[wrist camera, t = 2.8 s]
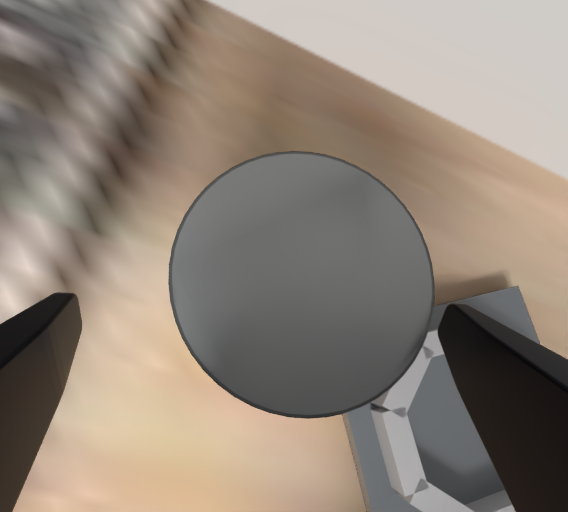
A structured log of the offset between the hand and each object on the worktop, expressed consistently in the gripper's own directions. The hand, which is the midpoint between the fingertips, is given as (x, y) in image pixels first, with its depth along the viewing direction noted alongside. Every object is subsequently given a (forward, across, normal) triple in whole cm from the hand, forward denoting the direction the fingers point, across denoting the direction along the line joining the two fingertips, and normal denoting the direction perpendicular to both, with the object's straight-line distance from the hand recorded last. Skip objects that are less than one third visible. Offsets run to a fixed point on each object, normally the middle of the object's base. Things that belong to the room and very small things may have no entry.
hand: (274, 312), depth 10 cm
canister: (+6, 0, +5) cm, 8 cm away
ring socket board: (+3, -9, +8) cm, 13 cm away
